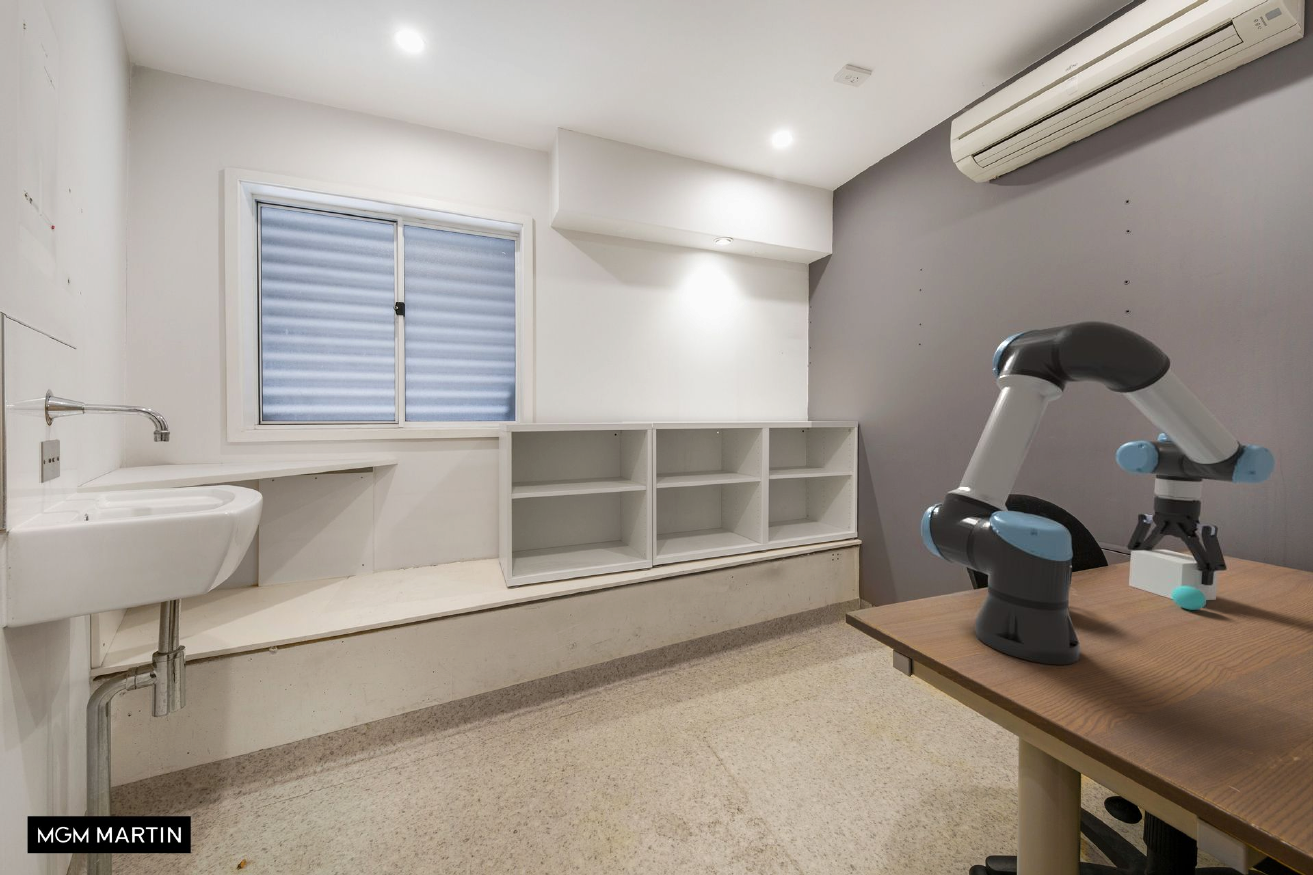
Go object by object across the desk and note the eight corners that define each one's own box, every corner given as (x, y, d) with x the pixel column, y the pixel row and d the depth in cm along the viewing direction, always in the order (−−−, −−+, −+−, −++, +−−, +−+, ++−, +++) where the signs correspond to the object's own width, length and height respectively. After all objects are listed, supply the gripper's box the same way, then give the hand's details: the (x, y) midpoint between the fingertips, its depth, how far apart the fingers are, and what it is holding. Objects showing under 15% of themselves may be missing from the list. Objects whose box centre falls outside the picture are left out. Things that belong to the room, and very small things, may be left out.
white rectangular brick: (1180, 601, 108) (1182, 563, 107) (1129, 585, 118) (1131, 550, 117) (1216, 599, 109) (1218, 562, 109) (1162, 583, 119) (1164, 549, 119)
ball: (1184, 612, 102) (1186, 589, 101) (1164, 603, 107) (1165, 581, 106) (1212, 614, 101) (1214, 591, 100) (1191, 605, 106) (1192, 583, 105)
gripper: (1257, 506, 102) (1249, 607, 103) (1134, 489, 124) (1129, 572, 125) (1229, 507, 100) (1222, 609, 102) (1111, 489, 123) (1106, 573, 124)
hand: (1171, 588), depth 113 cm, fingers closed on white rectangular brick, 10 cm apart
